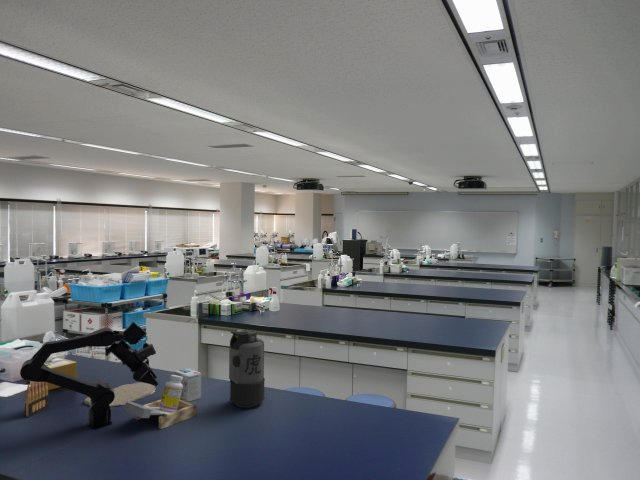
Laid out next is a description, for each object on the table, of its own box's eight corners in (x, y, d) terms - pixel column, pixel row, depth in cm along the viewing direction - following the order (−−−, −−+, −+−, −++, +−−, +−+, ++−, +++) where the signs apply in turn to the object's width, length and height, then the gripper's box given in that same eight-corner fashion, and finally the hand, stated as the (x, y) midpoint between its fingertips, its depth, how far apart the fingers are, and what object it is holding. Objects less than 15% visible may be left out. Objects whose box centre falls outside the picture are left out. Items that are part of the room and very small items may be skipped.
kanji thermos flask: (270, 405, 195) (271, 331, 195) (238, 412, 187) (239, 336, 187) (255, 394, 207) (255, 325, 206) (223, 401, 199) (224, 329, 198)
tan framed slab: (161, 429, 171) (161, 415, 171) (135, 418, 180) (135, 405, 180) (196, 415, 184) (196, 403, 184) (170, 406, 193) (170, 394, 193)
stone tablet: (80, 404, 195) (80, 398, 195) (141, 384, 220) (141, 378, 220) (106, 413, 186) (106, 406, 186) (166, 391, 212) (166, 385, 212)
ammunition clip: (28, 417, 180) (28, 385, 179) (24, 417, 180) (24, 385, 180) (49, 407, 190) (49, 377, 190) (45, 406, 190) (45, 376, 190)
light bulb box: (173, 395, 205) (174, 370, 205) (187, 392, 210) (188, 367, 210) (187, 402, 198) (187, 376, 197) (201, 398, 203) (201, 372, 202)
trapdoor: (142, 418, 167) (145, 409, 168) (123, 410, 174) (125, 401, 175) (186, 419, 182) (188, 411, 183) (167, 412, 189) (169, 404, 190)
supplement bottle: (159, 407, 185) (168, 373, 188) (176, 410, 186) (185, 377, 189) (157, 410, 178) (167, 374, 182) (175, 413, 180) (185, 378, 183)
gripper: (143, 342, 171) (175, 371, 175) (142, 333, 188) (170, 359, 192) (119, 366, 168) (151, 395, 172) (119, 354, 185) (149, 381, 189)
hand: (156, 381), depth 181 cm, fingers open, 9 cm apart
